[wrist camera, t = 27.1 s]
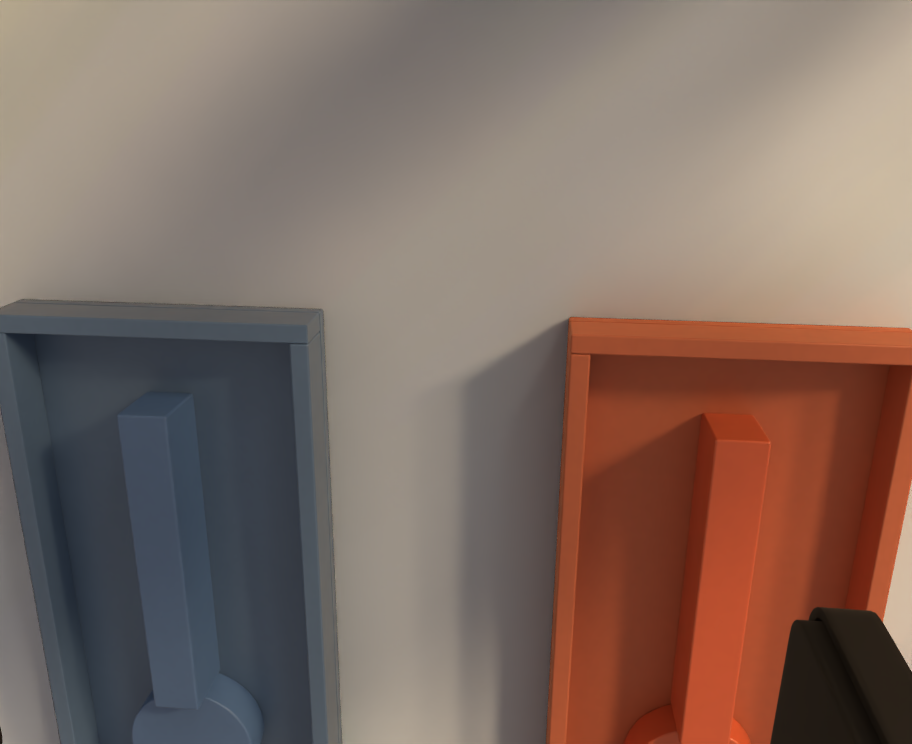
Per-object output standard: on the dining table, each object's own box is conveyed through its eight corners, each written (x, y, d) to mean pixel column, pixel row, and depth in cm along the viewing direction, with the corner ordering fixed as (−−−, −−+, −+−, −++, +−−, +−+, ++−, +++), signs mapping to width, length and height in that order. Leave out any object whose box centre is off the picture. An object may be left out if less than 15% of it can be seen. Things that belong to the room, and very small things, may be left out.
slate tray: (20, 298, 27) (-18, 313, 26) (323, 308, 27) (306, 325, 25) (102, 799, 34) (77, 840, 32) (345, 820, 33) (334, 864, 32)
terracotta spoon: (652, 409, 26) (661, 437, 24) (803, 415, 26) (826, 444, 24) (618, 798, 31) (623, 848, 29) (743, 808, 31) (758, 860, 29)
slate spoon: (103, 388, 28) (68, 412, 26) (238, 394, 27) (213, 419, 25) (154, 761, 33) (128, 806, 31) (268, 770, 32) (250, 817, 30)
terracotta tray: (568, 316, 26) (571, 334, 24) (909, 327, 25) (939, 346, 23) (540, 837, 33) (540, 883, 31) (807, 860, 32) (824, 908, 30)
